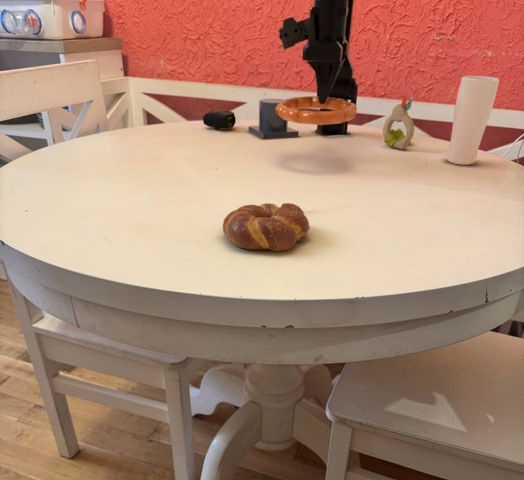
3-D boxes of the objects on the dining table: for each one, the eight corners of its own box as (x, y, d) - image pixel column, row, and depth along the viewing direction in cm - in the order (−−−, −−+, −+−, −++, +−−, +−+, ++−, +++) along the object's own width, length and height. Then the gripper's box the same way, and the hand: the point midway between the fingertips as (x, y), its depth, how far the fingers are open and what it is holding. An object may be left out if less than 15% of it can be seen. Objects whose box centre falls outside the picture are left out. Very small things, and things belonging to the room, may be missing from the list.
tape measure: (201, 128, 122) (201, 112, 120) (219, 124, 127) (219, 108, 125) (223, 132, 119) (223, 115, 117) (241, 128, 123) (240, 112, 121)
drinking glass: (462, 157, 104) (482, 75, 96) (485, 165, 99) (508, 79, 90) (435, 159, 102) (453, 76, 93) (457, 167, 97) (478, 80, 88)
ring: (335, 104, 95) (336, 93, 94) (369, 122, 85) (371, 109, 84) (265, 109, 92) (266, 98, 91) (293, 128, 81) (293, 115, 80)
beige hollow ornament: (428, 149, 110) (440, 90, 103) (399, 152, 106) (409, 92, 100) (405, 142, 115) (414, 86, 108) (377, 145, 112) (385, 87, 105)
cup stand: (281, 129, 124) (283, 97, 120) (298, 136, 117) (300, 102, 113) (248, 131, 121) (248, 98, 117) (263, 139, 114) (264, 104, 110)
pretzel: (267, 215, 71) (268, 189, 69) (328, 236, 65) (331, 208, 63) (204, 236, 64) (202, 208, 62) (265, 262, 58) (266, 232, 56)
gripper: (292, -1, 92) (287, 93, 101) (273, -3, 77) (270, 108, 86) (352, 1, 91) (342, 96, 100) (345, -1, 76) (334, 112, 84)
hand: (322, 102), depth 92 cm, fingers closed on ring, 2 cm apart
